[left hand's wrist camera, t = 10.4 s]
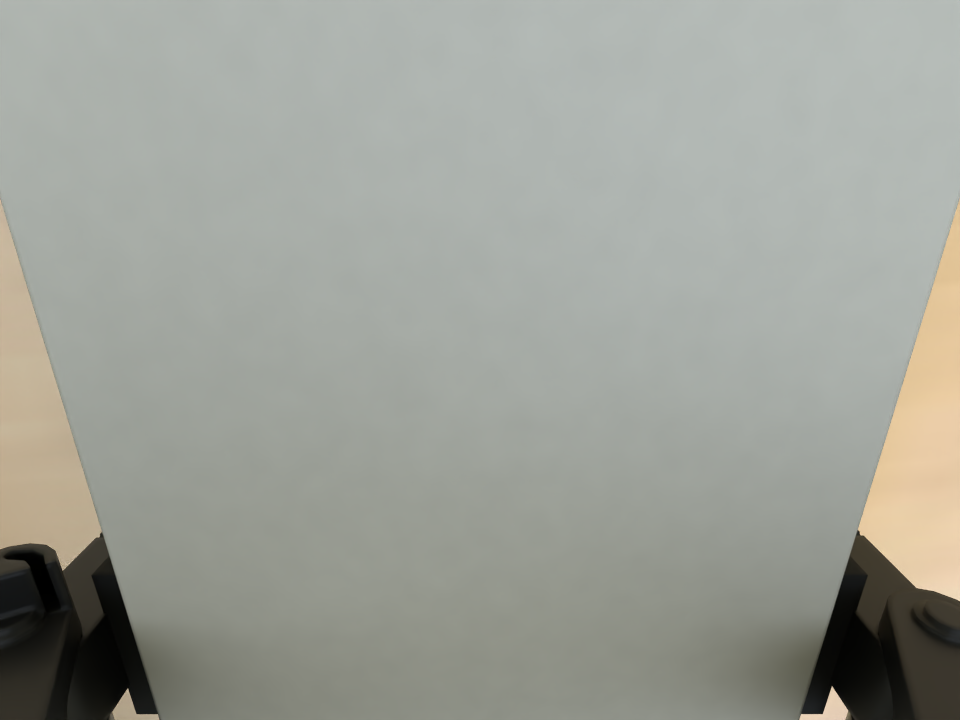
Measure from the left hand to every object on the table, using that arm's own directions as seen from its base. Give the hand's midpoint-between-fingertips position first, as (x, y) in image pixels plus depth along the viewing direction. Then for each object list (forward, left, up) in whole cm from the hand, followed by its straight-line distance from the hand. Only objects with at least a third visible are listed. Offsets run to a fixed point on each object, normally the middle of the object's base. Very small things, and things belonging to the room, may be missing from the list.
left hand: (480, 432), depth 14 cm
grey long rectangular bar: (+14, +10, -1) cm, 17 cm away
